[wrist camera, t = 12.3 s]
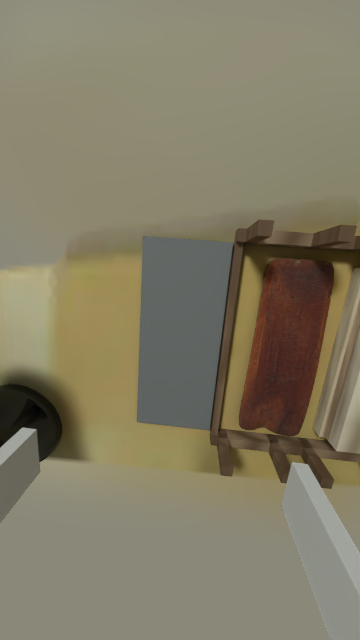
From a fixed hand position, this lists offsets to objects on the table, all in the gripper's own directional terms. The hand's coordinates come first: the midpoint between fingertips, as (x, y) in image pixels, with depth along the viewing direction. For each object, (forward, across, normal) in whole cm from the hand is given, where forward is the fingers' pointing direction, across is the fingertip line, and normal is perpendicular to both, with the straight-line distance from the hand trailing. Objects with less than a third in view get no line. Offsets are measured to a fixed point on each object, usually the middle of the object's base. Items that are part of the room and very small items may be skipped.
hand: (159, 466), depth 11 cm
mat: (+22, 0, -1) cm, 22 cm away
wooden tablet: (+22, +10, -1) cm, 24 cm away
